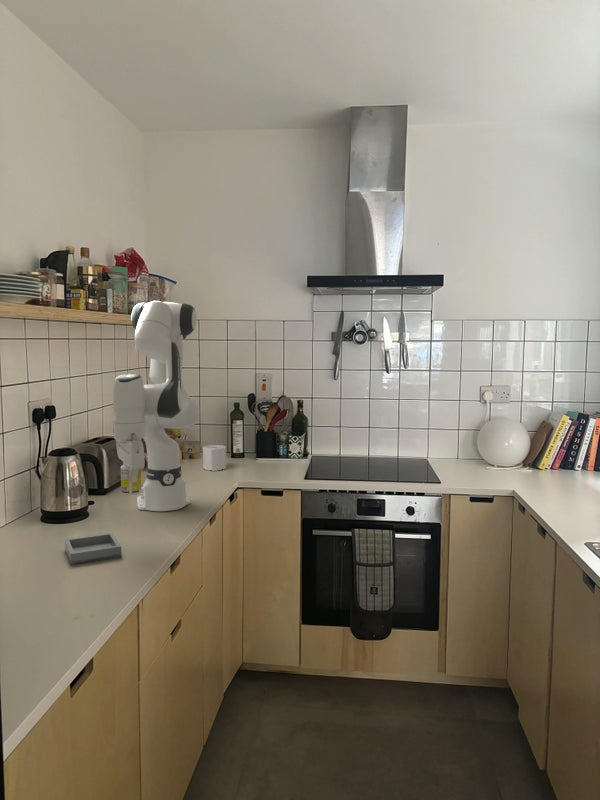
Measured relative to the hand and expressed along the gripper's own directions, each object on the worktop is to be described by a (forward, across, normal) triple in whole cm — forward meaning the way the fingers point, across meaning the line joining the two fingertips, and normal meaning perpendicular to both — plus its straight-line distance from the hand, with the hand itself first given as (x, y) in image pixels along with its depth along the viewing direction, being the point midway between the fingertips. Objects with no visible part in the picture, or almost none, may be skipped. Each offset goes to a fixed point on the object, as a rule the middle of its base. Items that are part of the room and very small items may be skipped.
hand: (131, 479), depth 173 cm
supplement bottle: (+4, 0, 0) cm, 4 cm away
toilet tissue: (+20, +87, -56) cm, 105 cm away
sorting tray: (+19, -3, +12) cm, 22 cm away
